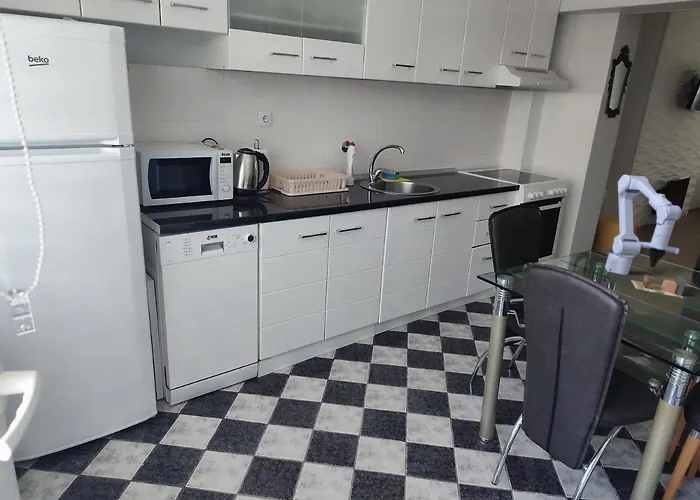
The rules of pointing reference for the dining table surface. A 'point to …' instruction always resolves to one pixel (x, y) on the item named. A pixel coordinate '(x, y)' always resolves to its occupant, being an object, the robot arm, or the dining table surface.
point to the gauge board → (656, 289)
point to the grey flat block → (680, 285)
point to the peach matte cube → (669, 286)
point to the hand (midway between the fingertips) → (651, 266)
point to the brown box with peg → (649, 281)
